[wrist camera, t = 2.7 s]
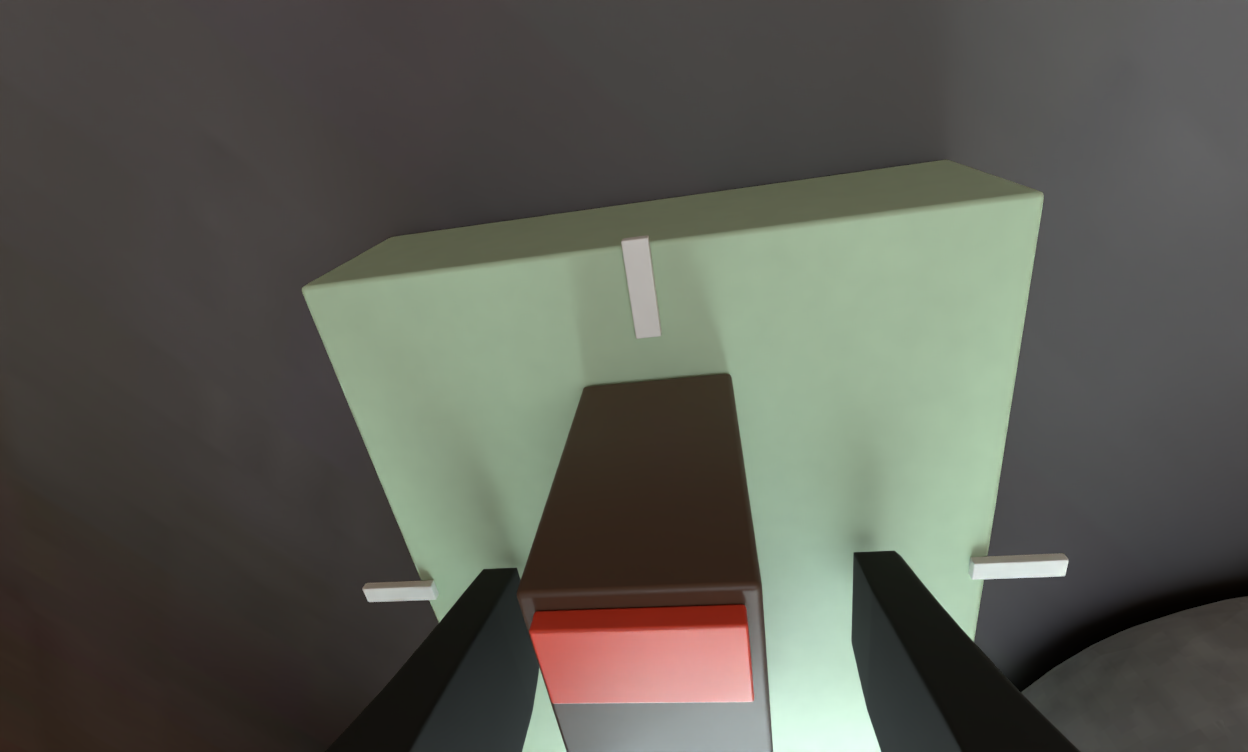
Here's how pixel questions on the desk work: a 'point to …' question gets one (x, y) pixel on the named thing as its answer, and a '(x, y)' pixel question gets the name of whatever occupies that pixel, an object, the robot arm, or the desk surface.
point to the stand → (701, 346)
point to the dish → (1156, 686)
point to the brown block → (651, 576)
